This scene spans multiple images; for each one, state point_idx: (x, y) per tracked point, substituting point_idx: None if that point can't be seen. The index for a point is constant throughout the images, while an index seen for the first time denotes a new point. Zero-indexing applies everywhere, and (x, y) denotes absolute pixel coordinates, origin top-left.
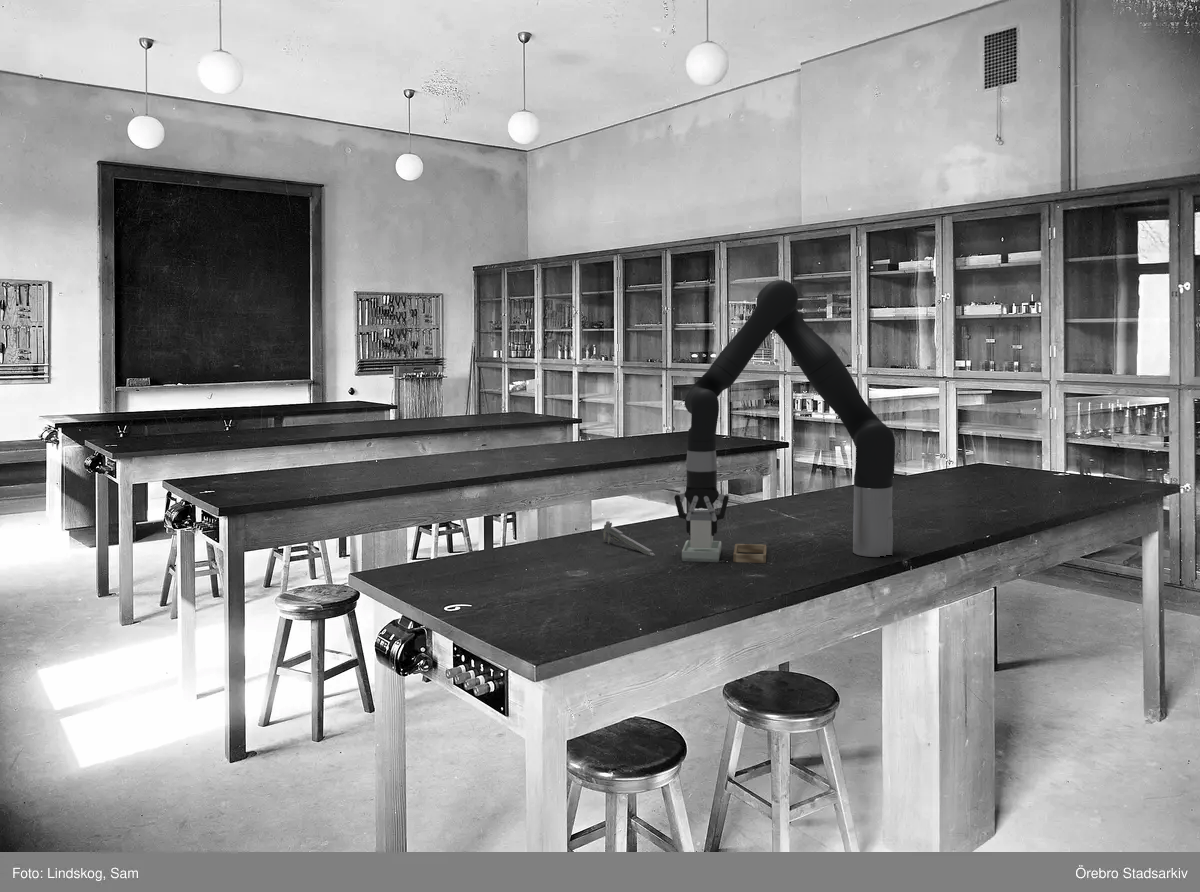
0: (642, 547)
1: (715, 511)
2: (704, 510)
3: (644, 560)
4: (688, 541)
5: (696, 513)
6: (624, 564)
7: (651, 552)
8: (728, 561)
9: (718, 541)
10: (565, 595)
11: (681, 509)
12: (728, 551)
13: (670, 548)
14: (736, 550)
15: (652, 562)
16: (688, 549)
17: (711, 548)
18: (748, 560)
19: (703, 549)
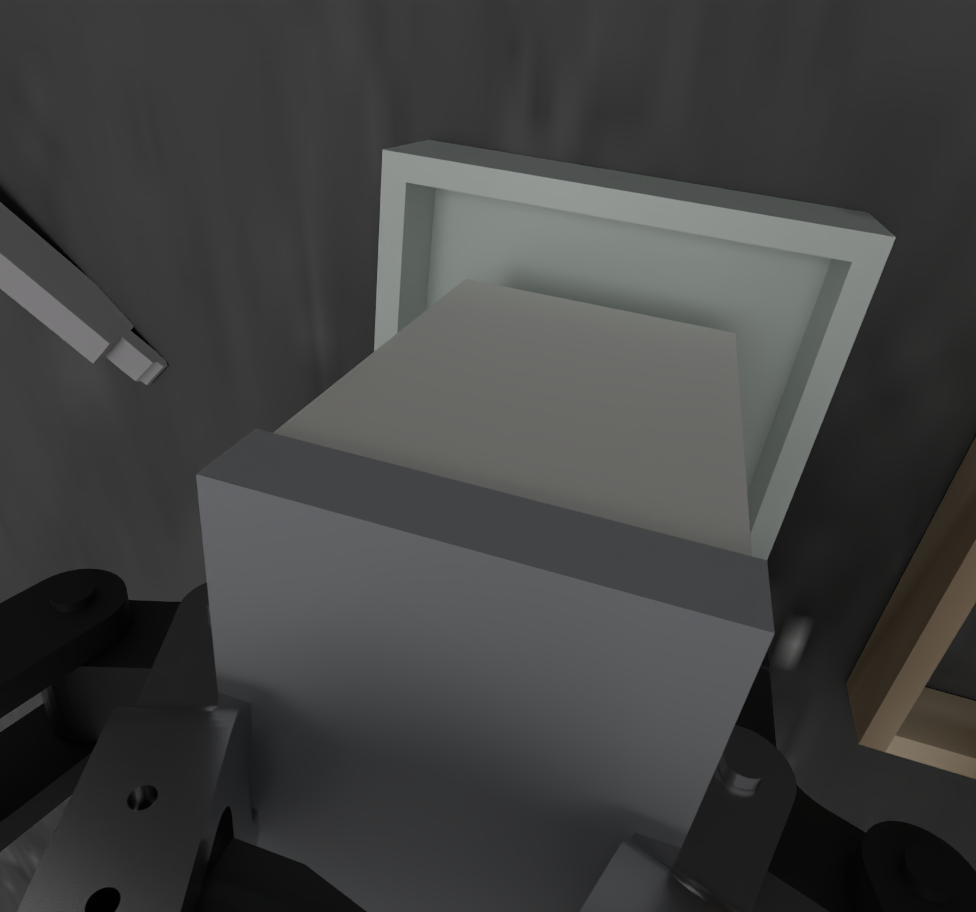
0: (6, 291)
1: (756, 897)
2: (496, 624)
3: (133, 498)
4: (413, 183)
5: (323, 830)
6: (47, 570)
7: (119, 338)
8: (805, 649)
9: (839, 256)
10: (16, 902)
11: (8, 829)
12: (959, 254)
13: (250, 55)
14: (956, 632)
15: (198, 558)
16: (440, 289)
17: (721, 260)
18: None
19: (610, 304)
